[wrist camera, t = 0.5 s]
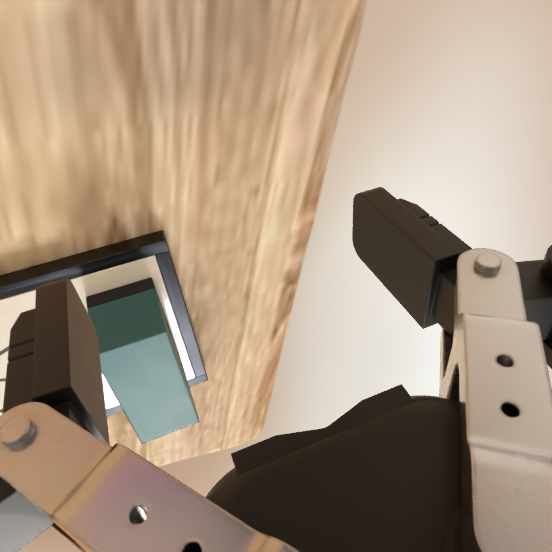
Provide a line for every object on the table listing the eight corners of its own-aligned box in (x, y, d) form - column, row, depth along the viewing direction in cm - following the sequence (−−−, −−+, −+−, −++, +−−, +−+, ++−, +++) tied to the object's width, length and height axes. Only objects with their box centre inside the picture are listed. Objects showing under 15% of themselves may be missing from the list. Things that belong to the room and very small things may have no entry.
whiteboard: (-204, 332, 27) (-212, 347, 26) (162, 230, 32) (165, 240, 31) (-49, 460, 38) (-51, 474, 37) (205, 370, 43) (208, 380, 42)
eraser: (85, 296, 31) (91, 355, 27) (151, 276, 32) (166, 331, 28) (131, 387, 39) (141, 444, 35) (184, 369, 40) (199, 422, 36)
